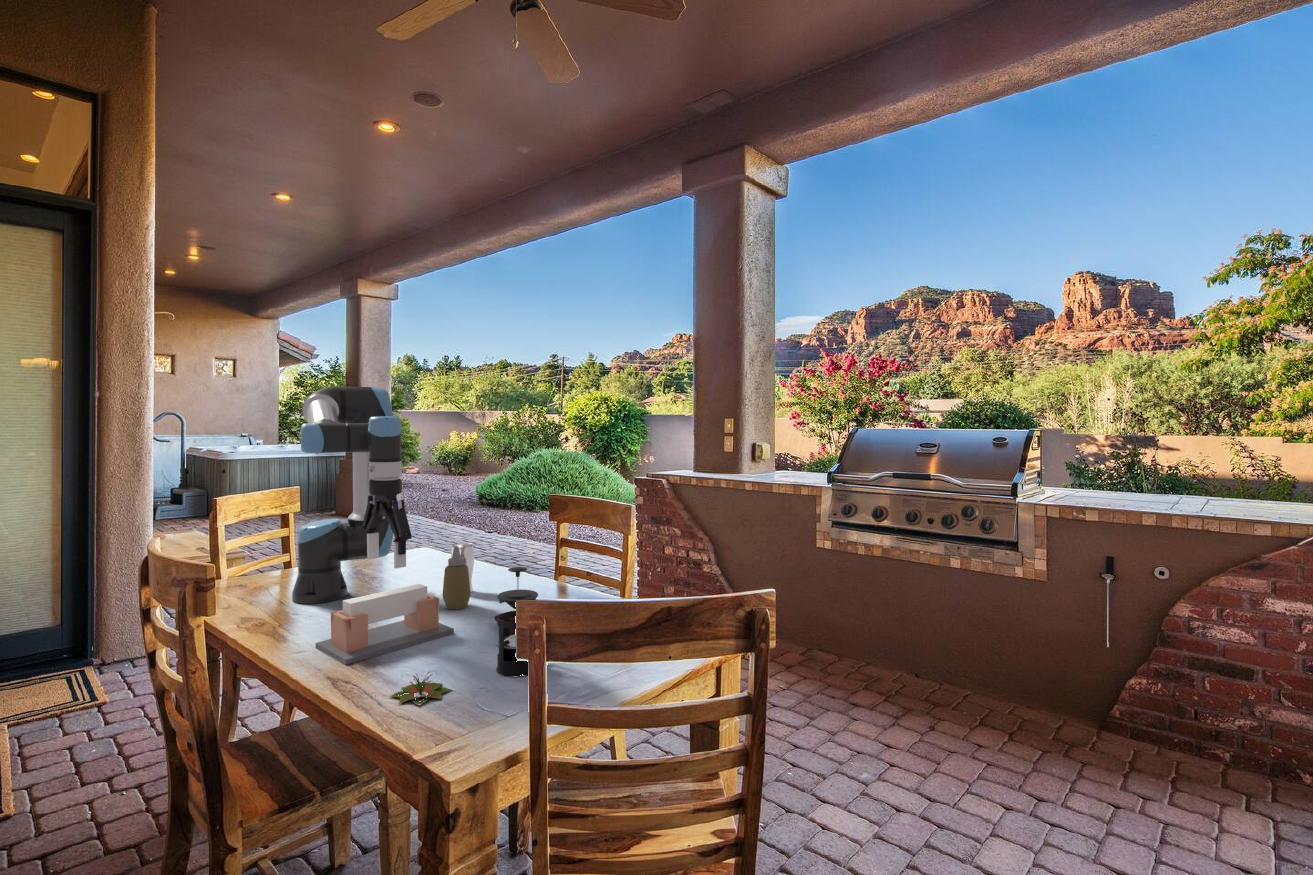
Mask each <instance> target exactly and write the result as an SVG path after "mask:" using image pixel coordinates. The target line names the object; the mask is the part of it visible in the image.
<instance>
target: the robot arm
mask: <svg viewBox="0 0 1313 875" xmlns="http://www.w3.org/2000/svg"><path fill="white" fill-rule="evenodd" d="M301 412H302V415H303V418H304V419H305V420H306V422H307V423H302V424H301V426H300V450H301V451H302V452H303V454H316V455H319V454H335V453H336V454H337V453H338V454H340V453H352V502H353V503H352V507H353V509H352V512H351V514H349V515H348V517H347V522H345V523H342V521H341V520H340V519H339V518H327V519H326V518H325V519H322V520H321V519H320V520H316V521H312V522H308V523H306V524H303V525H301V526H300V527H299V528H298V531H297V541H296V543H297V565H298V566H297V567H298V568H297V572H298V573H297V578H296V579H295V583H294V586H293V589H292V592H291V601H292V602H294V603H296V604H297V603H298V604H305V605H306V604H308V605H310V604H321V603H330V602H333V601H338V600H340V599H343V598H345V597H346V596H347V595H348V585H347V582H346V580H345V577H344V575H343V572H342V569H341V568H342V565H341V564H342V562H346V561H357V560H372V559H379V558H383V557H384V558H385V557H387V556H388V555H389V554H390V551H391V548H392V546H393V568H394V569H395V570H396V569H401V568H405V567H407V541H408V540H411V539H412V537H413V536H412V532H411V531H412V530H411V528H410V524H409V520H408V516H407V512H406V508H405V506H406V504H405V500H404V499H398V497H397V496H398V495H401V493H402V492H403V490H402V489H403V488H402V487H403V483H402V479H401V478H400V477H402V476H403V475H402V474H403V472H402V471H403V470H402V467H403V464H402V462H403V461H402V432H403V429H402V420H401V418H400V417H398V416H393V415H394V414H393V408H392V402H391V398H390V394H389V392H388V390H387V389H386V388H383V387H376V386H339V385H337V386H335V385H333V386H327V387H325V388H321V389H318V390H316V391H314V392H312V393H311V394H310V395H308V396H307V397H306V399H305V400H304V401H303V404H302V410H301ZM393 538H394V539H393ZM392 544H393V545H392Z"/></svg>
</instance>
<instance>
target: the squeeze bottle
mask: <svg viewBox="0 0 1313 875" xmlns="http://www.w3.org/2000/svg"><path fill="white" fill-rule="evenodd" d="M447 562H448V563H447V566H445V567H444V574H443V585H442V595H441V596H442V599H443V602H444V604H445V608H446V609H447V610H461V609H464V608H467V607H468V604H469V602H470V598H471V595H472V593H471V591H470V581H469V572H468V566H466V565H464V564H465V558H463V557H461V555H460V551H459V547H458V546H454V550H453V555H452V558H451V557H449V558H448V559H447Z"/></svg>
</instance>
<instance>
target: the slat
mask: <svg viewBox="0 0 1313 875" xmlns="http://www.w3.org/2000/svg"><path fill="white" fill-rule="evenodd" d="M427 594H428V586H427V585H424V584H420V583H417V584H413V585H412V584H411V585H407V586H403V587H399V588H394V589H388V590H385V591H381V592H375V593H371V594H367V595H362V596H358V597H351V598H348V599H344V600H342V610H343V615H344V616H346V617H348V618H349V617H353V616H358V615H362V614H367V615H368V625H371V624H375V623H379V622H382V621H388V620H392V619H395V618H399V617H404V615H407V614H411V613H415V612H418V601H421V600H425V599H427Z"/></svg>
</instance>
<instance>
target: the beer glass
mask: <svg viewBox="0 0 1313 875" xmlns="http://www.w3.org/2000/svg"><path fill="white" fill-rule="evenodd" d="M454 546H458V547H459V551H460V555H461V557H463V558H465V564H464V565H466V566H468V572H469V581H470V591H471V594H472V593H473V591H474V589H473V584H472V583H473V582H472V578H473V572H474V564H475V549H474V544H473V543H468V542H467V543H466V542H465V543H464V542H463V543H456V544H453V545H451V556H450V558H452V555H453V550H454Z"/></svg>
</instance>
